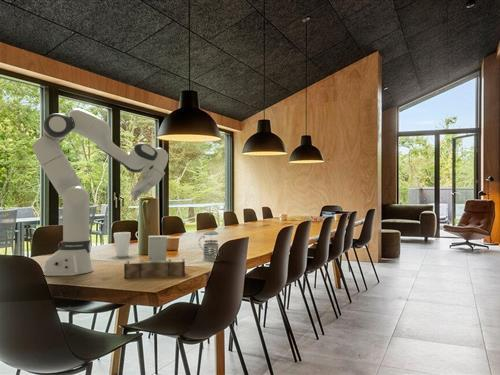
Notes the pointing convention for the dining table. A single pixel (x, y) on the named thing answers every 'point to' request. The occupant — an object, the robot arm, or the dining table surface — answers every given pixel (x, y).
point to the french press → (210, 246)
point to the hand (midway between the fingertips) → (139, 196)
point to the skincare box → (156, 248)
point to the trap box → (154, 269)
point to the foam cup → (122, 243)
